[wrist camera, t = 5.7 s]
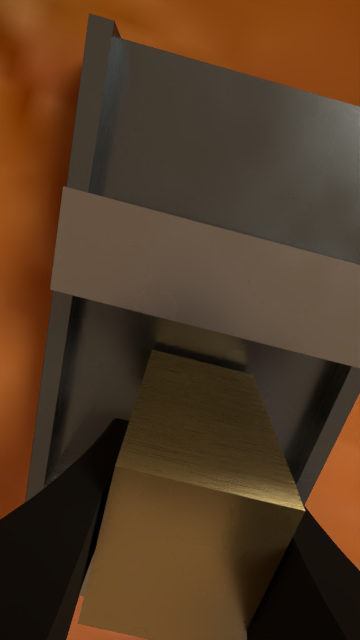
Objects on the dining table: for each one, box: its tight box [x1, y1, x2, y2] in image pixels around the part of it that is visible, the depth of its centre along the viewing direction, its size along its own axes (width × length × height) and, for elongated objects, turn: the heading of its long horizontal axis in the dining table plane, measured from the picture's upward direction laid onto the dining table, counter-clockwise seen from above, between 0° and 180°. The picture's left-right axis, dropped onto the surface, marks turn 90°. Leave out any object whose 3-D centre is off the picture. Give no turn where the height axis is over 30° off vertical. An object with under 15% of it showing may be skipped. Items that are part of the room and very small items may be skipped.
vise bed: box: [25, 14, 360, 596], centre depth 11 cm, size 18×12×5 cm, turn 166°
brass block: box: [78, 350, 305, 640], centre depth 10 cm, size 5×4×6 cm
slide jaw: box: [50, 186, 360, 368], centre depth 9 cm, size 2×10×4 cm, turn 76°
